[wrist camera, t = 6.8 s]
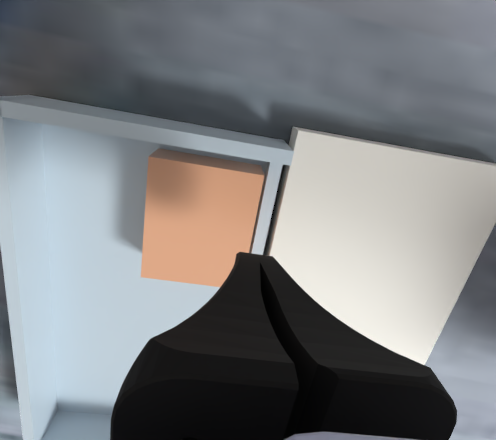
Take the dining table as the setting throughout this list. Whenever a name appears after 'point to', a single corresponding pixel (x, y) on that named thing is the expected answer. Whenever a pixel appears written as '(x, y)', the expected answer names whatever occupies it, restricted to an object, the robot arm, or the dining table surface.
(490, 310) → the dining table surface
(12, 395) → the dining table surface
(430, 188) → the cream plate
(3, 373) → the dining table surface
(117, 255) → the tray
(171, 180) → the terracotta tile
